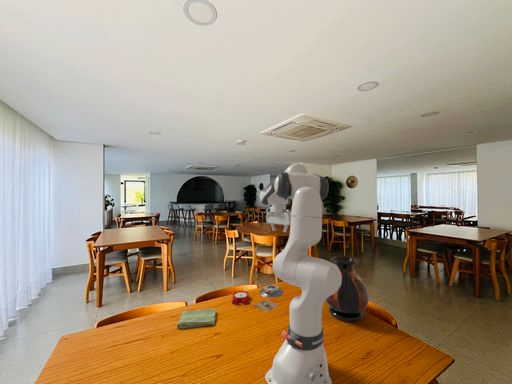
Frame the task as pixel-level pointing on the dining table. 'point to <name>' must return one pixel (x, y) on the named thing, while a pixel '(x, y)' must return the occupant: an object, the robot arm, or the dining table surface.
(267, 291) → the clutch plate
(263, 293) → the hub
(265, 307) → the stand
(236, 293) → the alarm clock
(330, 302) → the amphora vase
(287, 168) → the robot arm
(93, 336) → the dining table surface
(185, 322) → the washcloth
